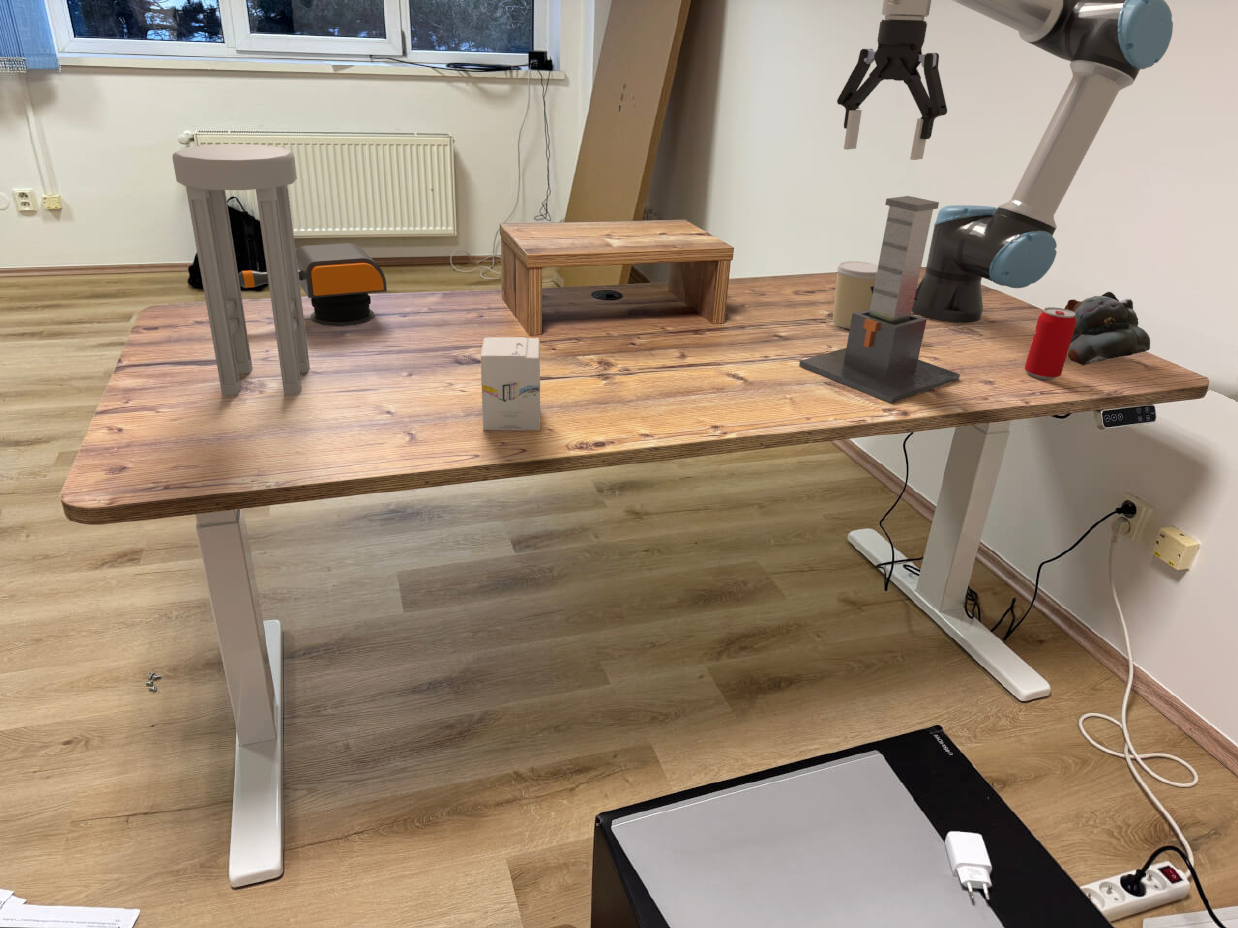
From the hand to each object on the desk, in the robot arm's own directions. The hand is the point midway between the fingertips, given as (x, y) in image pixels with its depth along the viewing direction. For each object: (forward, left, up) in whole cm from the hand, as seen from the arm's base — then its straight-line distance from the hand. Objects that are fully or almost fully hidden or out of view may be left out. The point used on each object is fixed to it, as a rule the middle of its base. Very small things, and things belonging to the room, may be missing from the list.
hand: (882, 154), depth 153 cm
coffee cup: (-11, -8, -36) cm, 38 cm away
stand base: (+8, +13, -35) cm, 38 cm away
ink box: (+74, -5, -36) cm, 82 cm away
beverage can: (-18, +30, -36) cm, 50 cm away
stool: (+99, -38, -36) cm, 112 cm away
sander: (+81, -64, -36) cm, 109 cm away
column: (+8, +13, -26) cm, 30 cm away
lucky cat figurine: (-37, +31, -36) cm, 60 cm away
